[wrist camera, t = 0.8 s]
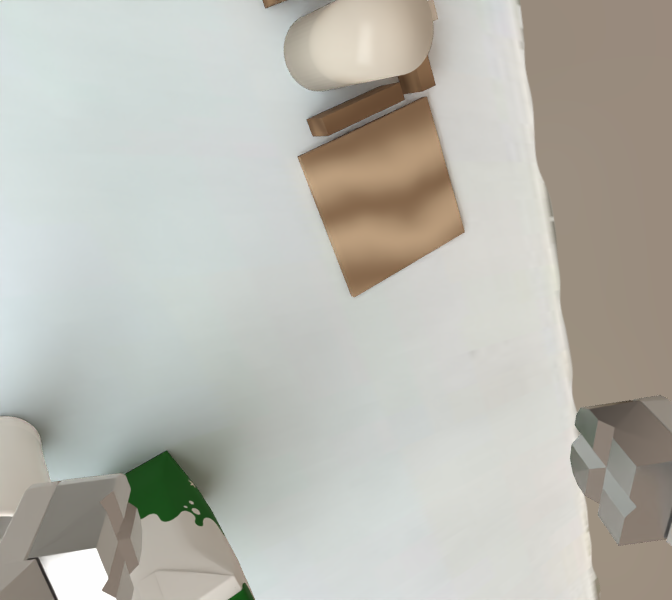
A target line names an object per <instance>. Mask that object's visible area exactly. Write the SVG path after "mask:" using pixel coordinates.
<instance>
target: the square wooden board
mask: <svg viewBox="0 0 672 600" xmlns="http://www.w3.org/2000/svg"><path fill="white" fill-rule="evenodd" d="M298 159H299V162H300V164H301V167H302V169H303V172H304V175H305V177H306V180H307V182H308V185H309V187H310V190H311V193H312V195H313V198H314V200H315V203H316V206H317V208H318V211H319V213H320V216H321V219H322V221H323V224H324V226H325V229H326V231H327V234H328V237H329V239H330V242H331V244H332V247H333V250H334V252H335V255H336V257H337V260H338V263H339V265H340V268H341V270H342V273H343V276H344V278H345V281H346V283H347V286H348V288H349V291H350V294H351V296H353V297H356V296H358V295H359V294H361V293H363V292H364V291H366V290H368V289H369V288H371V287H373V286H374V285H376V284H378V283H380V282H381V281H383V280H385V279H386V278H388V277H390V276H391V275H393V274H395V273H396V272H398V271H400V270H401V269H403V268H405V267H407V266H408V265H410V264H412V263H413V262H415V261H417V260H418V259H420V258H422V257H423V256H425V255H427V254H429V253H430V252H432V251H434V250H435V249H437V248H439V247H440V246H442V245H444V244H445V243H447V242H449V241H450V240H452V239H454V238H456V237H457V236H459V235H461V234H462V233H464V228H463V224H462V221H461V217H460V214H459V210H458V206H457V203H456V199H455V196H454V192H453V189H452V185H451V181H450V178H449V174H448V171H447V167H446V164H445V160H444V156H443V153H442V149H441V146H440V142H439V138H438V135H437V131H436V128H435V124H434V121H433V117H432V113H431V110H430V106H429V103H428V99H427V97H422V98H420V99H418V100H416V101H414V102H412V103H410V104H408V105H405V106H403V107H401V108H399V109H397V110H395V111H393V112H391V113H389V114H387V115H384V116H382V117H380V118H378V119H376V120H374V121H372V122H370V123H368V124H365V125H363V126H361V127H359V128H357V129H355V130H353V131H351V132H349V133H347V134H344V135H342V136H340V137H338V138H336V139H334V140H332V141H330V142H328V143H326V144H323V145H321V146H319V147H317V148H315V149H313V150H311V151H309V152H307V153H305V154H302V155H300V156H298Z"/></svg>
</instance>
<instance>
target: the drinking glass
mask: <svg viewBox="0 0 672 600" xmlns="http://www.w3.org/2000/svg"><path fill="white" fill-rule="evenodd" d="M46 482H51V479H50V476H49V472H48V469H47V465H46V462H45V458H44V455H43V451H42V441H41V438H40V435H39V433H38V432H37V430H36V429H35V428H34V427H33V426H32V425H31V424H30V423H28V422H27V421H25V420H23V419H20V418H16V417H11V416H1V417H0V543H1V540H2V538H3V536H4V534H5V532H6V530H7V528H8V526H9V524H10V521H11V519H12V517H13V515H14V513H15V511H16V509H17V507H18V505H19V503H20V500H21V498H22V496H23V494H24V492H25V491H26V489H27V488H29V487H30V486H31V485H32V484H37V483H46Z"/></svg>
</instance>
